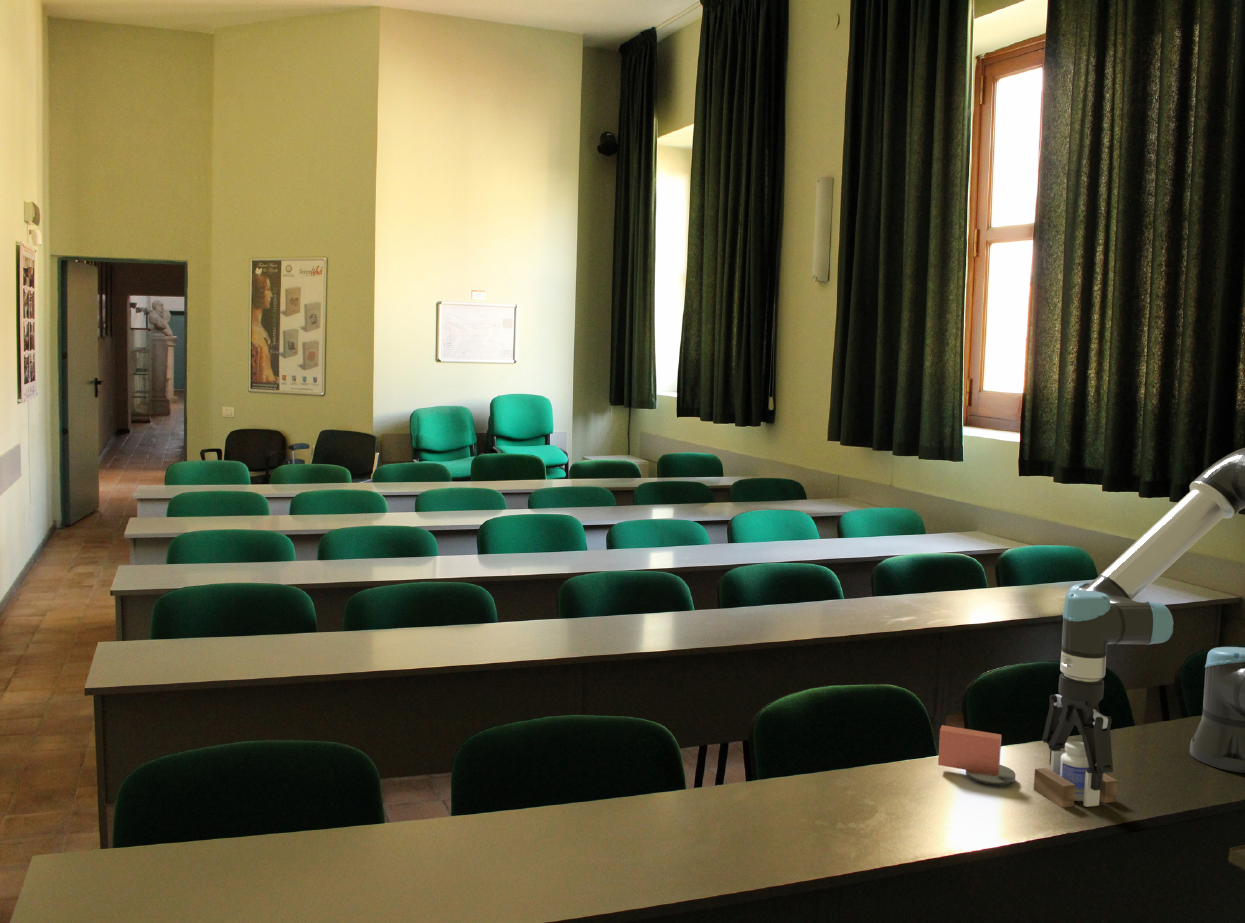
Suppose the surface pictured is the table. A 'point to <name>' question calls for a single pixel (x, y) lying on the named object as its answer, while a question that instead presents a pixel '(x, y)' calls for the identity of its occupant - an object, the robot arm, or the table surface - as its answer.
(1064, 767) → the pill bottle
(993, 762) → the block on round base
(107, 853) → the table surface
